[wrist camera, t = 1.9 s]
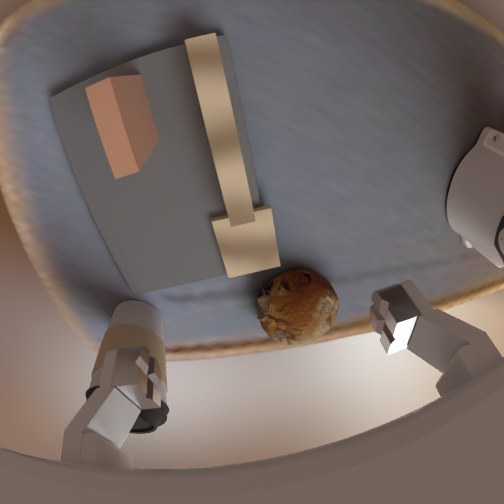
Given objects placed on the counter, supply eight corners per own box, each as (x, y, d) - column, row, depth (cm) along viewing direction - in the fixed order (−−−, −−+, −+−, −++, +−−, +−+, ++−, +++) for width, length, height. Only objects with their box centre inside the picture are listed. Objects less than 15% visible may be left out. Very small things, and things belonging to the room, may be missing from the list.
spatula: (165, 48, 18) (161, 46, 16) (236, 32, 18) (239, 28, 16) (228, 273, 31) (229, 289, 29) (279, 262, 31) (284, 276, 29)
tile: (141, 74, 19) (109, 77, 12) (159, 139, 22) (139, 171, 16) (122, 81, 18) (84, 88, 12) (141, 145, 22) (115, 179, 16)
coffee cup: (129, 345, 38) (118, 440, 26) (92, 303, 33) (64, 409, 20) (183, 332, 37) (184, 437, 25) (151, 285, 32) (135, 405, 20)
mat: (225, 35, 18) (226, 34, 18) (270, 258, 32) (271, 263, 31) (53, 97, 18) (48, 99, 18) (135, 288, 32) (134, 294, 31)
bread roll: (268, 308, 42) (290, 357, 38) (233, 294, 34) (258, 357, 30) (327, 273, 40) (354, 323, 36) (307, 249, 31) (342, 313, 27)
